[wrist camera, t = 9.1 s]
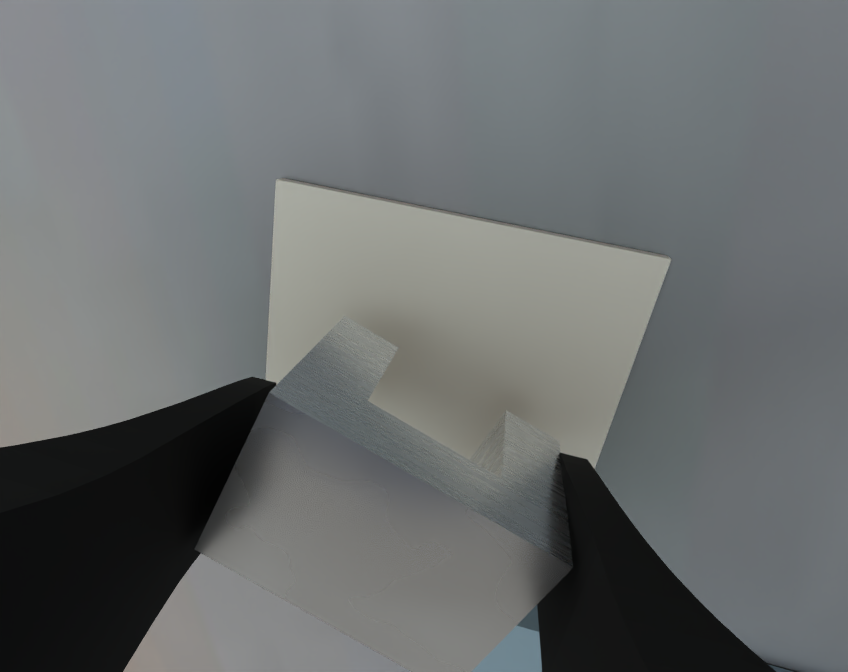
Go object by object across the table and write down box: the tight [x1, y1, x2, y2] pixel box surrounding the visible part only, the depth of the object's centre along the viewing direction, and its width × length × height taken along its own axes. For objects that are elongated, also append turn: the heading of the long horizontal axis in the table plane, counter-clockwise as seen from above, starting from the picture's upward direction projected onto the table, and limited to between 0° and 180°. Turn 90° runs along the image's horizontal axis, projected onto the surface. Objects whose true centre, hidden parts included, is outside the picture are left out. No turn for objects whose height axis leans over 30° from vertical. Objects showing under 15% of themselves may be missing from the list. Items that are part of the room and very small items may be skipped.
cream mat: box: [266, 178, 671, 469], centre depth 15 cm, size 10×10×1 cm
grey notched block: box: [195, 316, 573, 672], centre depth 11 cm, size 6×4×4 cm
